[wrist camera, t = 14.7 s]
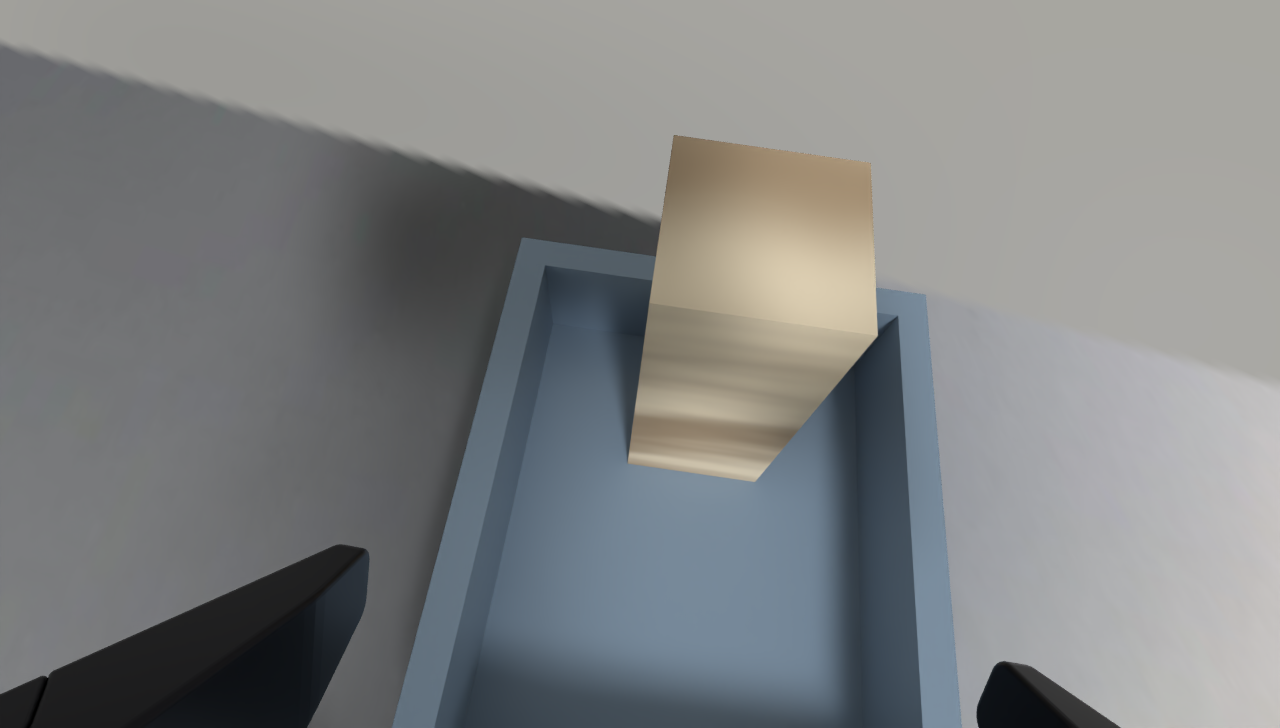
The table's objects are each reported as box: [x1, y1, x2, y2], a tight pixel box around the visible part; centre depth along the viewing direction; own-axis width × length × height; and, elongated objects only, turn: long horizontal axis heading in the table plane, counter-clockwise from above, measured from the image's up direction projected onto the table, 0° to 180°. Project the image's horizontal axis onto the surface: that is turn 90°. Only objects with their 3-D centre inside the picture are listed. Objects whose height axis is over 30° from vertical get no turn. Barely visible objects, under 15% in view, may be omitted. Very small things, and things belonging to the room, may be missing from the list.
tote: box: [392, 237, 962, 728], centre depth 20 cm, size 18×14×5 cm
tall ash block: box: [628, 135, 878, 482], centre depth 18 cm, size 5×5×11 cm
